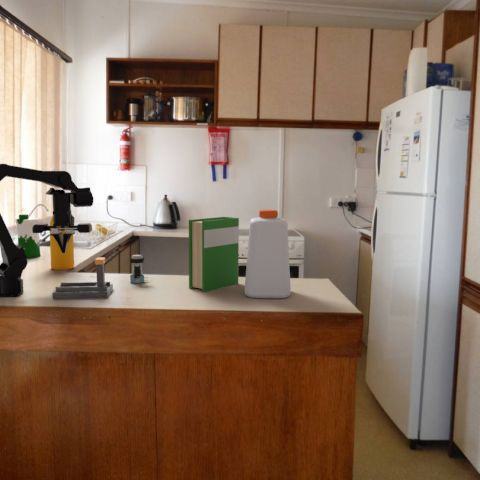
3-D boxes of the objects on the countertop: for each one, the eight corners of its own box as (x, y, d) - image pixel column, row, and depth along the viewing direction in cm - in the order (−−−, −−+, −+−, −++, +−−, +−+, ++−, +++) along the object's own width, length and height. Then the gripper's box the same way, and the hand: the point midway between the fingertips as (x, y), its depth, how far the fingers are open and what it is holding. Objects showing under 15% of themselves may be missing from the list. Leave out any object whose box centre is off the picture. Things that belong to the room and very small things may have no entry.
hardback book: (204, 291, 171) (204, 221, 168) (189, 288, 175) (188, 219, 172) (238, 283, 184) (238, 218, 181) (223, 280, 189) (223, 216, 186)
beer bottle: (64, 270, 205) (62, 199, 201) (46, 269, 208) (43, 198, 204) (79, 266, 213) (76, 198, 210) (60, 265, 216) (58, 197, 212)
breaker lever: (95, 288, 164) (94, 259, 163) (97, 285, 169) (96, 257, 167) (104, 288, 164) (103, 259, 163) (106, 285, 169) (106, 257, 168)
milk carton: (15, 257, 236) (13, 214, 234) (32, 254, 244) (30, 213, 241) (26, 259, 231) (24, 215, 229) (43, 256, 239) (42, 214, 236)
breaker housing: (52, 299, 159) (52, 289, 159) (61, 290, 171) (61, 281, 171) (107, 298, 161) (107, 288, 161) (112, 289, 173) (112, 280, 173)
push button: (146, 280, 188) (146, 253, 187) (149, 283, 183) (149, 255, 182) (128, 281, 186) (128, 254, 185) (131, 284, 181) (130, 256, 180)
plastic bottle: (245, 288, 177) (245, 208, 173) (288, 288, 176) (290, 208, 172) (244, 298, 162) (245, 211, 158) (291, 299, 161) (293, 212, 157)
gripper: (94, 206, 181) (95, 249, 183) (40, 206, 179) (42, 249, 181) (88, 208, 170) (89, 254, 172) (30, 208, 168) (33, 254, 170)
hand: (63, 252), depth 174 cm, fingers closed
